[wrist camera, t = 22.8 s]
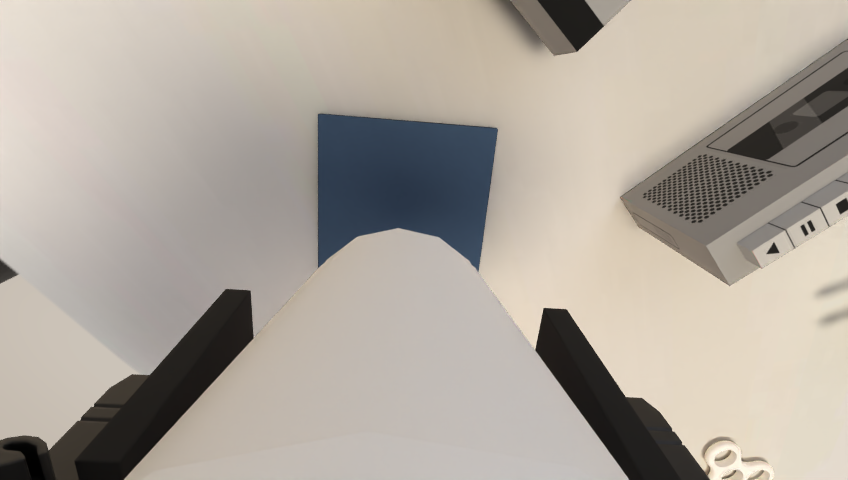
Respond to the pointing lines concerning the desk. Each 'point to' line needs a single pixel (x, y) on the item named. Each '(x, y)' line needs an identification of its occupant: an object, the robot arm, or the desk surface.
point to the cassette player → (757, 177)
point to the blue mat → (402, 181)
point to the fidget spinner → (734, 463)
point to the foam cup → (385, 384)
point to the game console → (567, 20)
